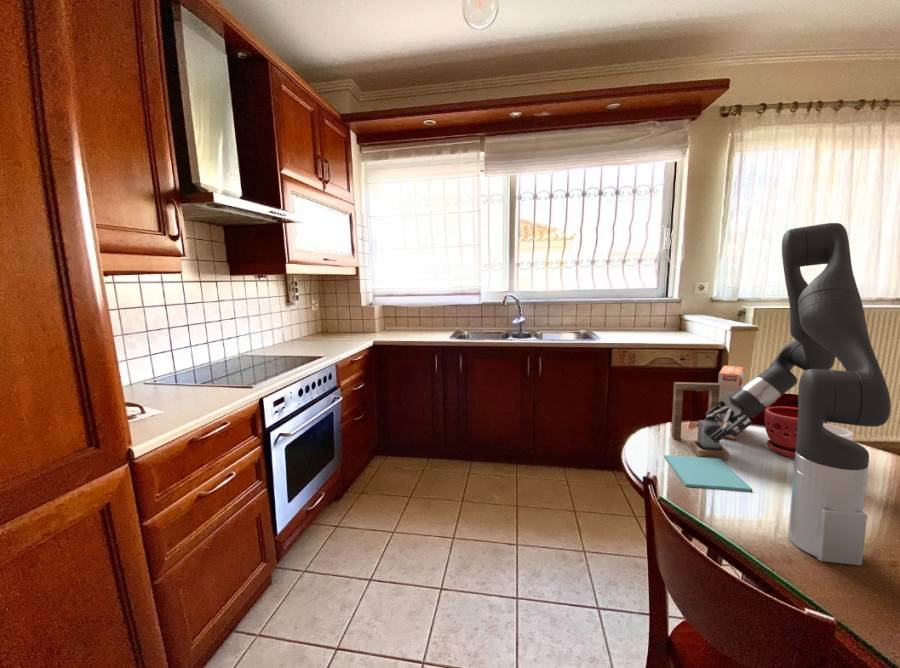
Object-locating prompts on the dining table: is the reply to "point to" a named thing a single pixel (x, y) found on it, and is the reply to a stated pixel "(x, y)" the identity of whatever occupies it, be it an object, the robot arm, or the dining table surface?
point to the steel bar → (707, 434)
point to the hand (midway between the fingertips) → (705, 434)
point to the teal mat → (706, 473)
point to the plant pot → (782, 429)
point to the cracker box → (729, 386)
